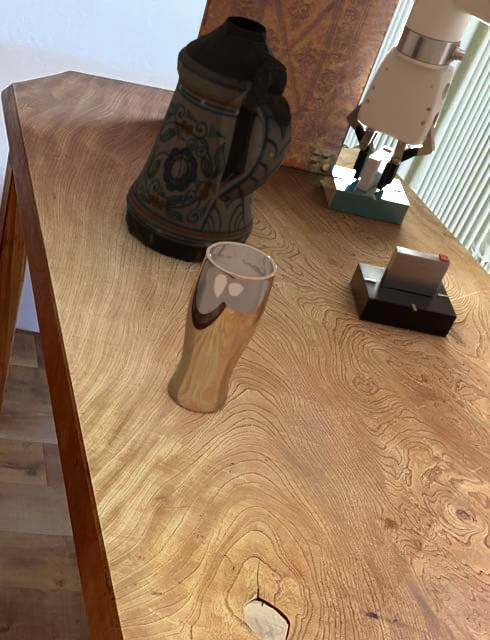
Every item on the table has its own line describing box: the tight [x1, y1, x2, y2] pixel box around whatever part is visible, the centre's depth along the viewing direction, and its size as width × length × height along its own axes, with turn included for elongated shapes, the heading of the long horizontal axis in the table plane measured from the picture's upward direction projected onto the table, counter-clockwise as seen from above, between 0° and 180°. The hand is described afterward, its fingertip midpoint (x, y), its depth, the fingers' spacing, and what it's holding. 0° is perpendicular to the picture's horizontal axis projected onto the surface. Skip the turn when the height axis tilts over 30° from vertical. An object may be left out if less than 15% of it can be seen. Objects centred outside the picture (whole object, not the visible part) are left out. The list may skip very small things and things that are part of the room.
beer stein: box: [125, 16, 292, 264], centre depth 107 cm, size 16×19×25 cm
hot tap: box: [381, 245, 451, 297], centre depth 108 cm, size 6×2×5 cm, turn 85°
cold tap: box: [357, 145, 395, 191], centre depth 130 cm, size 6×2×5 cm, turn 146°
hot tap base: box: [349, 262, 458, 339], centre depth 110 cm, size 11×11×3 cm
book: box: [196, 0, 400, 176], centre depth 131 cm, size 25×9×30 cm, turn 82°
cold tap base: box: [321, 165, 411, 225], centre depth 133 cm, size 11×11×3 cm
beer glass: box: [167, 241, 278, 414], centre depth 85 cm, size 7×7×15 cm
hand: (370, 180), depth 131 cm, fingers open, 3 cm apart
